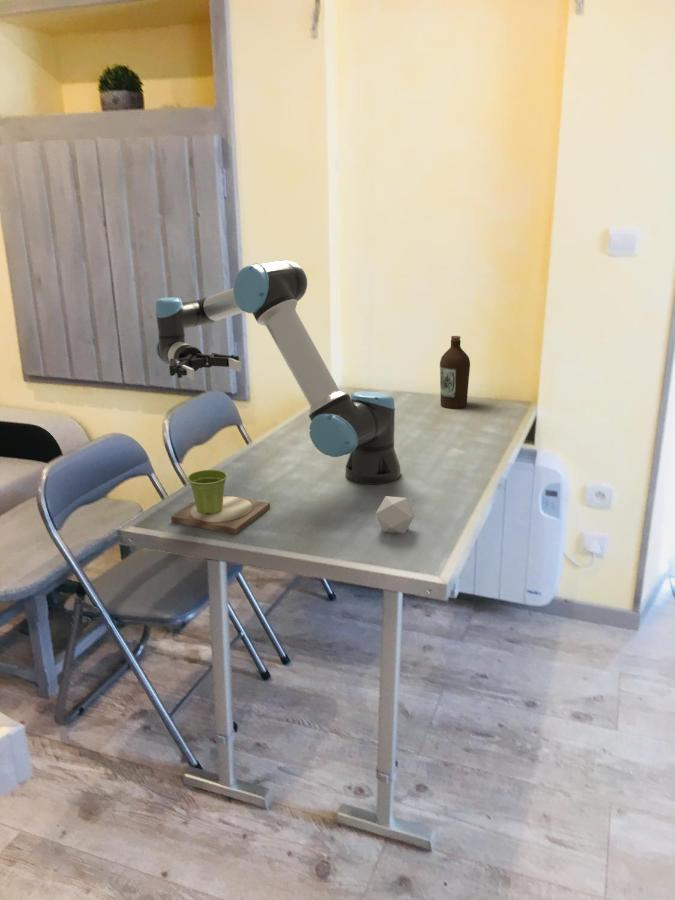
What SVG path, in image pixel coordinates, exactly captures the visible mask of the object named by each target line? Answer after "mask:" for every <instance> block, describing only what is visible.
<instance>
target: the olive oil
mask: <svg viewBox="0 0 675 900" xmlns="http://www.w3.org/2000/svg"><path fill="white" fill-rule="evenodd" d="M470 368H471V360H470V357H469V355H468V354H467V352H465V350H463V349H462V347H461V336H460V335H452V336H451V340H450V347H449V348H448V349H447V350H446V352H444V353H443V355H442V356H441V358H440V361H439V378H440V379H439V381H440V386H439V387H440V406H441V407H442V408H445V409H457V410H458V409H464V408H466V407H467V406H468V393H469V382H470V381H469V380H470V371H471V369H470Z"/></svg>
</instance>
